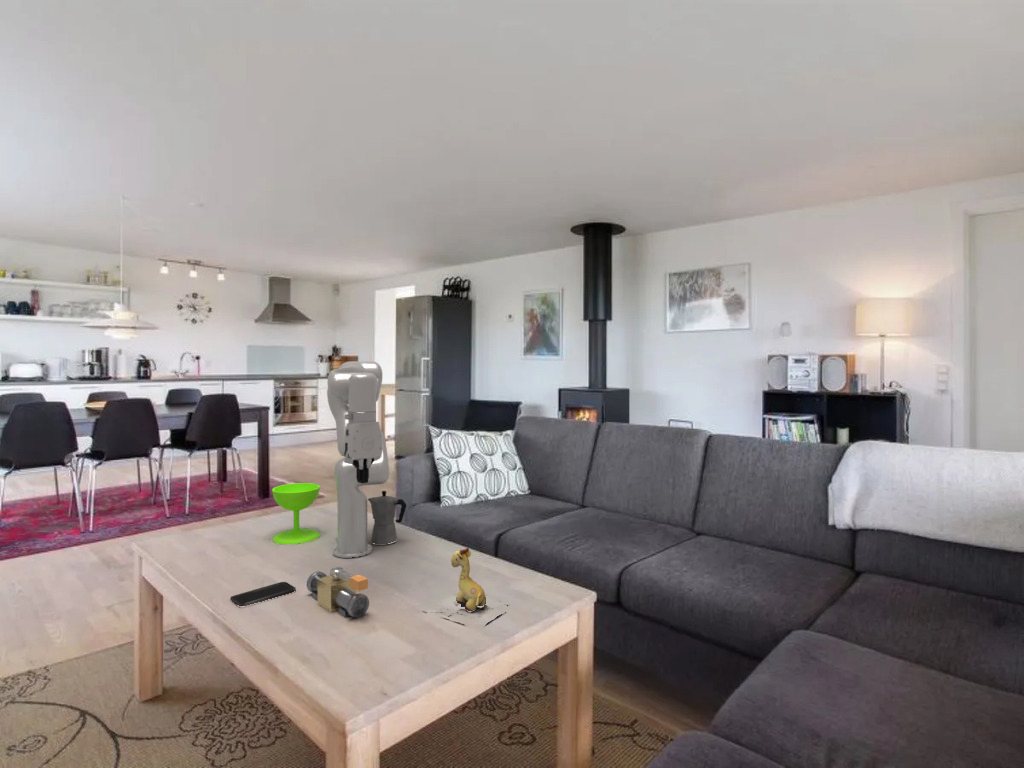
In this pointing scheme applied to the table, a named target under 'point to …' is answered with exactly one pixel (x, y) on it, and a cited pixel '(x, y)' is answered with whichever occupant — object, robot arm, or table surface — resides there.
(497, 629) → the table surface
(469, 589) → the stuffed giraffe
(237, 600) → the phone
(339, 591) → the valve pipe
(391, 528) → the coffeepot
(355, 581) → the valve lever
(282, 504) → the wineglass
